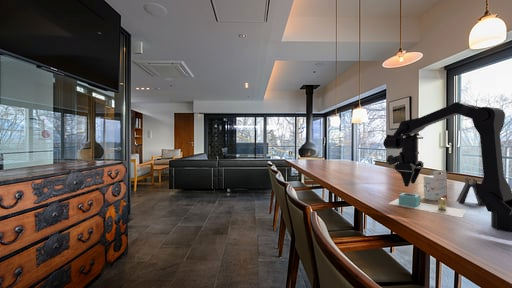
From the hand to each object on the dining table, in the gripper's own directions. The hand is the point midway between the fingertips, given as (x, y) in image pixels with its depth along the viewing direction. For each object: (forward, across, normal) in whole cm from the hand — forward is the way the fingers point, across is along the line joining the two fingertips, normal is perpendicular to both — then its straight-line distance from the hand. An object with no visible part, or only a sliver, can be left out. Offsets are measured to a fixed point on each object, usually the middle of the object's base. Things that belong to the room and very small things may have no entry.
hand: (409, 184), depth 95 cm
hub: (+8, 0, +11) cm, 14 cm away
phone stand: (+10, -21, +17) cm, 29 cm away
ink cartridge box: (+10, -19, +5) cm, 22 cm away
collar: (+8, 0, 0) cm, 8 cm away
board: (+9, 0, +5) cm, 11 cm away
